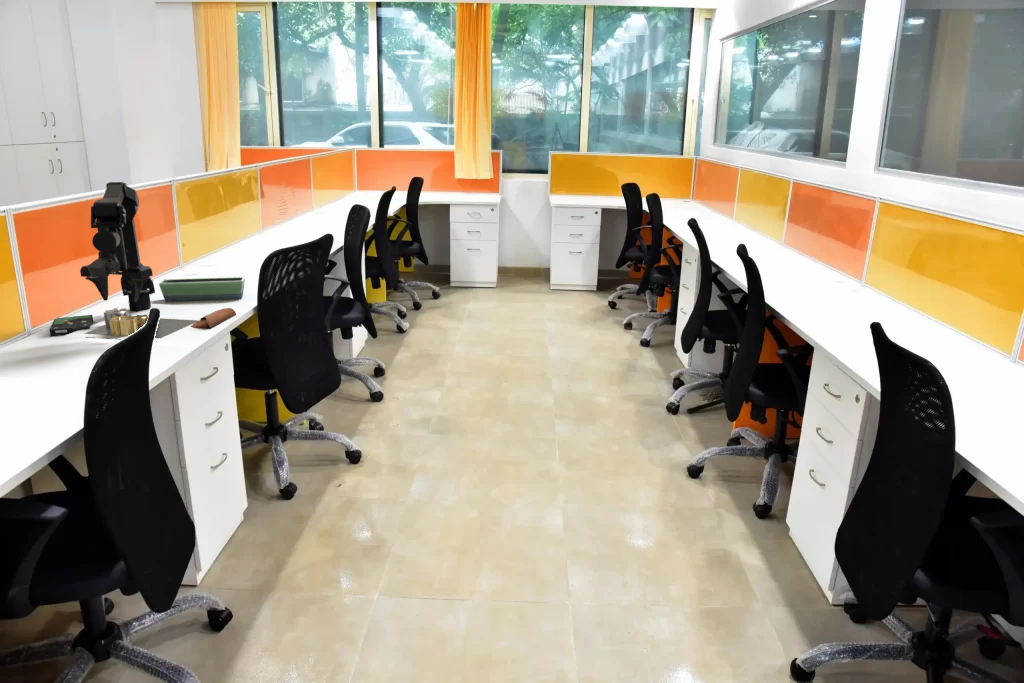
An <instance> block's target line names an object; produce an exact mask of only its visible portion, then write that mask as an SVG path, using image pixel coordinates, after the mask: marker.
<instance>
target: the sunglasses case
mask: <svg viewBox="0 0 1024 683" xmlns="http://www.w3.org/2000/svg"><path fill="white" fill-rule="evenodd" d="M236 315H237V313H236V311H235V309H233V308H232V307H225V308H221V309H218V310H214V311H213V312H211V313H209V314H207V315H206V314H205V315H204V316H203V317H200V319H199V320H198V322H196V323H194V324H191V325H189V326H190V327H191V328H194V329H203V330H205V329H206V330H212V329H213V328H215V327H217V326H219V325H221V324H223V323H224V322H226V321H227V320H230V319H232V318H234V317H235V316H236Z"/></svg>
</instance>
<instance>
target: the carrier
mask: <svg viewBox="0 0 1024 683" xmlns="http://www.w3.org/2000/svg"><path fill="white" fill-rule="evenodd" d="M129 315H130V316H133V317H137V324H138V329H139V328H140V327H142V326H143V325H144V324H145V323H146V321H147V319H148V316H149V315H148V314H137V315H131V311H130V308H129V309H127V308H120V307H114V308H113V309H109V310H107V309H106V310H105V311H104V312H103V317H104V318H103V319H104V323H105V325H102V326H100V327H98V328H95V329H92V330H89V331H88V332H85V333H84V335H87V334H88V335H100V336H115V337H117V336H116V335H112V334H111V327H110V320H111V318H113V317H114V318H115V317H119V316H129ZM121 320H126V319H121ZM198 321H199V320H195V319H179V318H177V319H176V318H164V317H163V318H161V317H160V320H159V324H158V328H157V331H156V336H155V338H154V339H162V338H165V337H167V336H169V335H172V334H173V333H176V332H178V331H180V330H182V329H185V328H188V327H189V326H191V325H193V324H194V323H196V322H198ZM84 338H88V339H94V337H93V336H92V337H91V336H85V337H84ZM121 339H122V338H120V339H119V338H116V340H119V341H122V340H121ZM106 340H110V338H107V337H106ZM155 343H158V342H157V341H156V342H155Z"/></svg>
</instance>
